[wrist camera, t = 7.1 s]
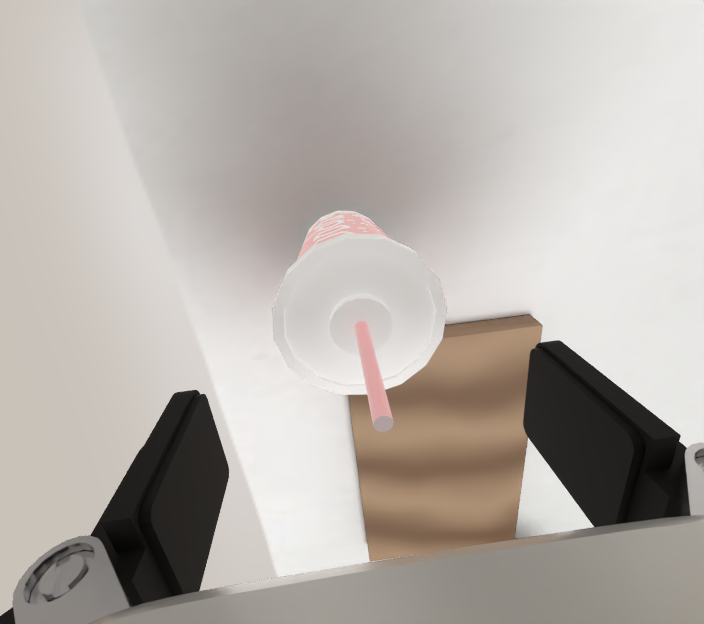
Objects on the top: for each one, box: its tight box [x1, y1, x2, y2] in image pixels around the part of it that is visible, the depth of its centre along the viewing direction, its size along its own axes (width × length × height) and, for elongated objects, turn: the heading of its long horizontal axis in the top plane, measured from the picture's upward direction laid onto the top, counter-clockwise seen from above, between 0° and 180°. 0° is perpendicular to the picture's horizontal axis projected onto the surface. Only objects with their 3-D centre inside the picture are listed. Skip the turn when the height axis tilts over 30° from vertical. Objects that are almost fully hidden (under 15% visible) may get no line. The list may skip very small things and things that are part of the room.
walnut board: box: [348, 315, 543, 561], centre depth 27 cm, size 20×12×2 cm, turn 6°
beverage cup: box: [272, 211, 447, 432], centre depth 15 cm, size 6×6×14 cm
